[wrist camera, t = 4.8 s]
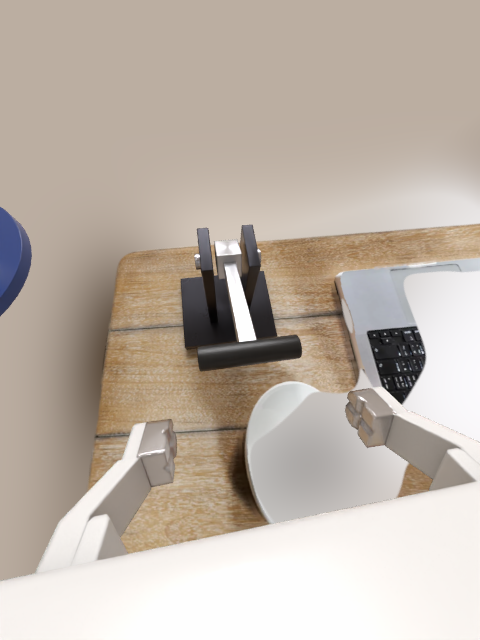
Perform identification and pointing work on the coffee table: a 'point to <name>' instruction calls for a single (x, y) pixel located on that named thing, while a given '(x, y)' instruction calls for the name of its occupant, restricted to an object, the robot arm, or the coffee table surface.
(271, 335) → the bracket
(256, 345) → the lever
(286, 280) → the coffee table surface
